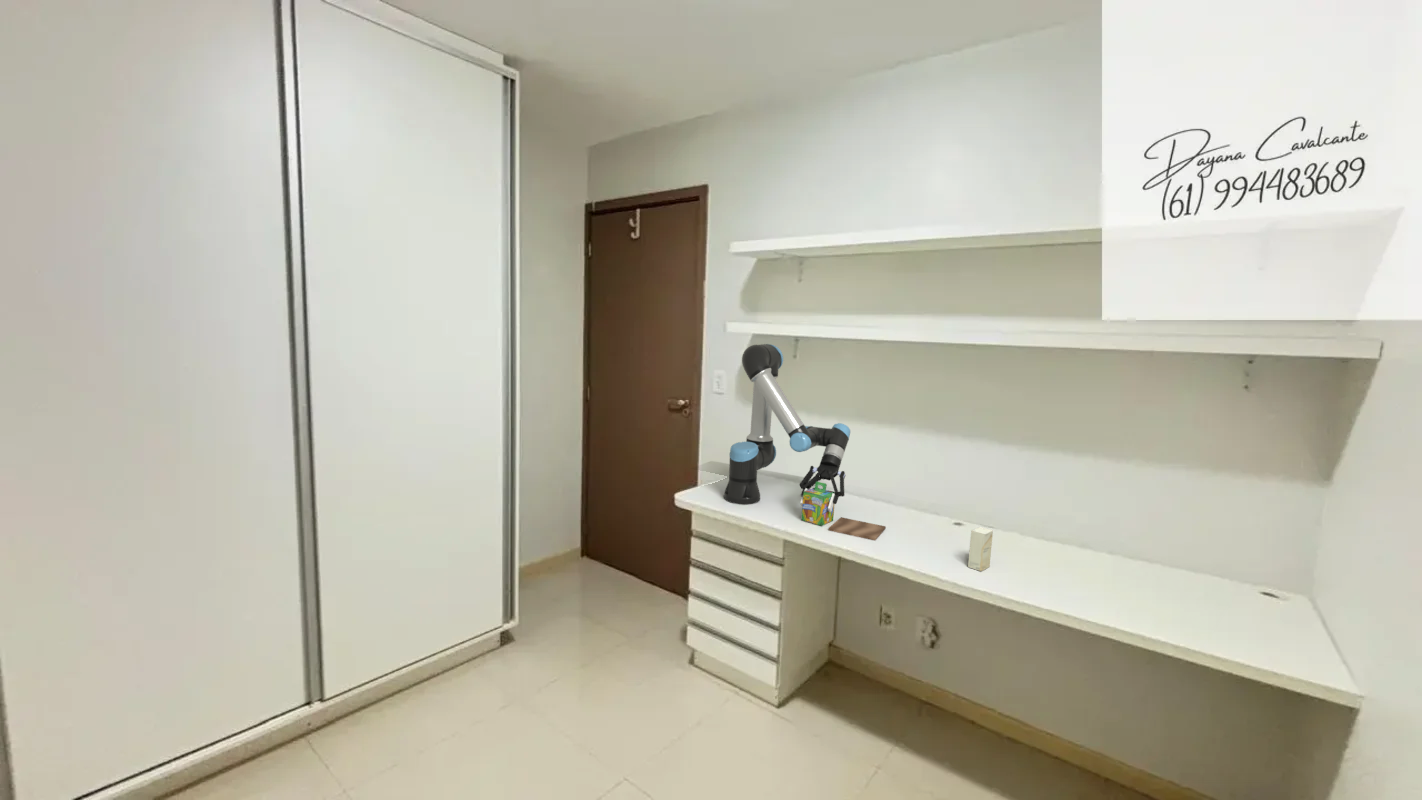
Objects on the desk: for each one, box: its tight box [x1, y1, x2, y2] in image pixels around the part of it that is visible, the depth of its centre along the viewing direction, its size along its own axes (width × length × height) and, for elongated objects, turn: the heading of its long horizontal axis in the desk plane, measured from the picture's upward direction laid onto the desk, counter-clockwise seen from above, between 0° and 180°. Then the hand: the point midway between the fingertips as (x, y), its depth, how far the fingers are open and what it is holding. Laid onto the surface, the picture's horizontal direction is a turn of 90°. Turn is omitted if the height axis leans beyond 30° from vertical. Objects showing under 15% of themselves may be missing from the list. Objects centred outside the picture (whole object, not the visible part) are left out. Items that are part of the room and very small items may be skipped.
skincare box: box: [967, 526, 994, 572], centre depth 184 cm, size 6×4×12 cm
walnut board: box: [828, 516, 887, 541], centre depth 215 cm, size 17×14×1 cm
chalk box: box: [800, 481, 835, 527], centre depth 222 cm, size 9×9×15 cm
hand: (815, 507), depth 219 cm, fingers closed on chalk box, 10 cm apart
